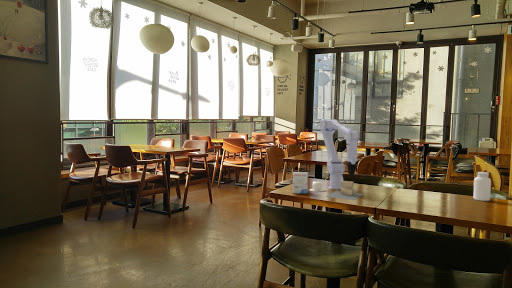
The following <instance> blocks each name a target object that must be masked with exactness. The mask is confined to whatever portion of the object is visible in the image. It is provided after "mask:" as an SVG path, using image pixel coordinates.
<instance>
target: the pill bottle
mask: <svg viewBox="0 0 512 288" xmlns="http://www.w3.org/2000/svg"><path fill="white" fill-rule="evenodd" d="M489 175H490V174H489V172H485V171H478V172H477V175H476V177H474V179H473V195H472V196H473V199H474V200H476V201H481V202H489V201H490V200H491V191H492V190H491V188H492V187H491V186H492V179H491V178H490V177H489Z"/></svg>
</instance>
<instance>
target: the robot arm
mask: <svg viewBox="0 0 512 288" xmlns="http://www.w3.org/2000/svg"><path fill="white" fill-rule="evenodd" d="M319 128H320V133H321V134H322V137H323V141H324V144H325V149H326V152H327V155H328V161H327V163H326V166H327V167H326V171H327V172H328V174H329V186H328V187H327V189H334V190H341V182H342V181H344V177H343V174H344V173H345V171H346V166H347V172H348V175H349V176H350V177H355V175H356V174H355V173H356V170H357V167H358V163H357V162H358V141H359V140H360V138H361V134H360V132H359V130H353V128H350V127H349V126H348V125H342V124H341V123H339V120H337V119H325V118H323V119H321V120H320V122H319ZM336 131H338V132H339V134H340V135H342V136H343V137H344V139H345V143H346V158H345V159H344V161H346V162H345V164H346V165H345V164H344V162H343V160H342V159H340V157H338V153H337V150H336V147H335V143H334V140H333V136H332V135H333V134H335V132H336Z"/></svg>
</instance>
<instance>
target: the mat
mask: <svg viewBox="0 0 512 288" xmlns="http://www.w3.org/2000/svg"><path fill="white" fill-rule="evenodd" d="M363 195H364V193H359V192H353V195H345V194H341V190H336V191H333V192H331V193H329V194H328V195H326V196H324V197H325V198H333V199H340V200H341V199H342V200H350V201H355V200H357V199H358V198H360V197H362V196H363Z"/></svg>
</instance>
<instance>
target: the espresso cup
mask: <svg viewBox="0 0 512 288" xmlns="http://www.w3.org/2000/svg"><path fill="white" fill-rule="evenodd" d="M312 191H313V192H323V191H325V189H324V188H323V182H322V181H312V188H310V189H309V192H312Z"/></svg>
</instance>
